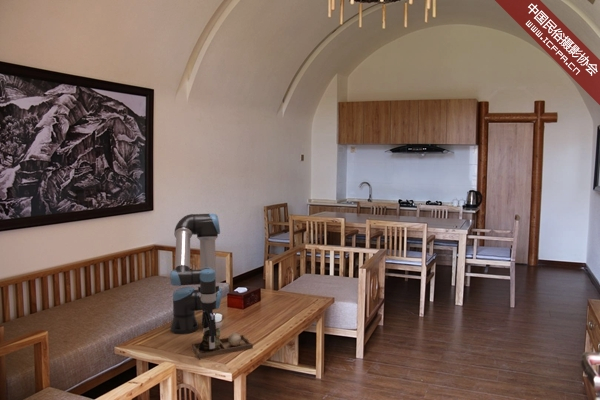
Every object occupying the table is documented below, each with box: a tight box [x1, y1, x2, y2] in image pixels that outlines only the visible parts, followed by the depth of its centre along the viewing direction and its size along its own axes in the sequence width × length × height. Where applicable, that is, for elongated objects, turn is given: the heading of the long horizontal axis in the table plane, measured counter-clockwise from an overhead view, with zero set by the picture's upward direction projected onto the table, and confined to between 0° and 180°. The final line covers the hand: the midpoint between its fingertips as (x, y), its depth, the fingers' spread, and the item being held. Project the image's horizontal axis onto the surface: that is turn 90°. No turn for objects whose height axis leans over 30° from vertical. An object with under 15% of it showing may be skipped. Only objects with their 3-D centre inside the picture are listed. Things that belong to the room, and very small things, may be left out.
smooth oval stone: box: [227, 332, 241, 346], centre depth 249 cm, size 7×7×7 cm
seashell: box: [199, 327, 221, 351], centre depth 243 cm, size 11×11×10 cm
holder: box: [191, 334, 254, 361], centre depth 247 cm, size 14×27×3 cm, turn 117°
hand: (209, 344), depth 244 cm, fingers closed on seashell, 10 cm apart
